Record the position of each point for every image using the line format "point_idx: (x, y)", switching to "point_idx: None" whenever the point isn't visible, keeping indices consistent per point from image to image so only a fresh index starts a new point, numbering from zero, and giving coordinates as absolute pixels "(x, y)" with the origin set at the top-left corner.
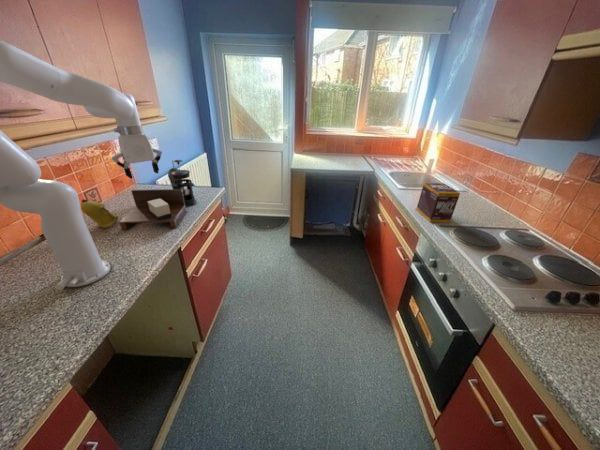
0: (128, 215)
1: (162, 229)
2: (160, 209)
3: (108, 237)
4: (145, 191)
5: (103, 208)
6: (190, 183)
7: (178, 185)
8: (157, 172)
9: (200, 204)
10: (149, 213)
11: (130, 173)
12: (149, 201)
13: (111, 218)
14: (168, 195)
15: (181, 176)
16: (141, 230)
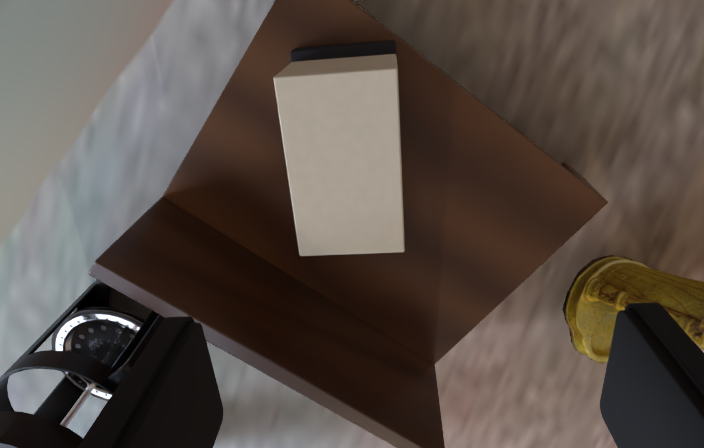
0: (523, 264)
1: (392, 14)
2: (358, 65)
3: (682, 131)
4: (362, 405)
5: (697, 320)
6: (7, 370)
7: (105, 377)
8: (176, 324)
9: (72, 235)
10: (407, 210)
11: (688, 365)
12: (391, 240)
13: (619, 279)
14: (224, 295)
15: (15, 434)
16: (502, 96)
